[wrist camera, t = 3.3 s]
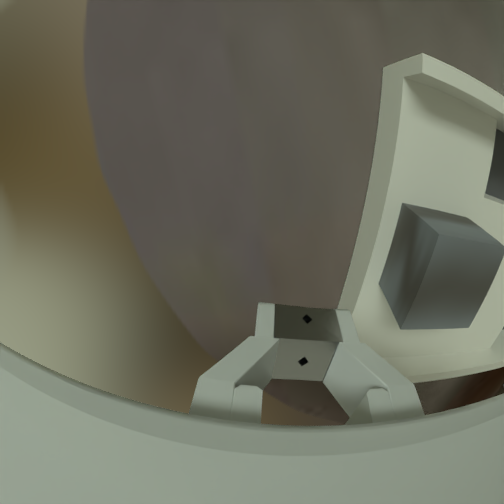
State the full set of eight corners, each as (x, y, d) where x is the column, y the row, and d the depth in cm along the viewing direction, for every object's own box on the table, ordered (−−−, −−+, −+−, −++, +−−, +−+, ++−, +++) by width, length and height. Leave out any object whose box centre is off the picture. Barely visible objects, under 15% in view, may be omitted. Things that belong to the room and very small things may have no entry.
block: (402, 202, 13) (439, 234, 9) (467, 217, 12) (506, 248, 9) (378, 283, 15) (400, 329, 11) (441, 288, 15) (468, 327, 11)
